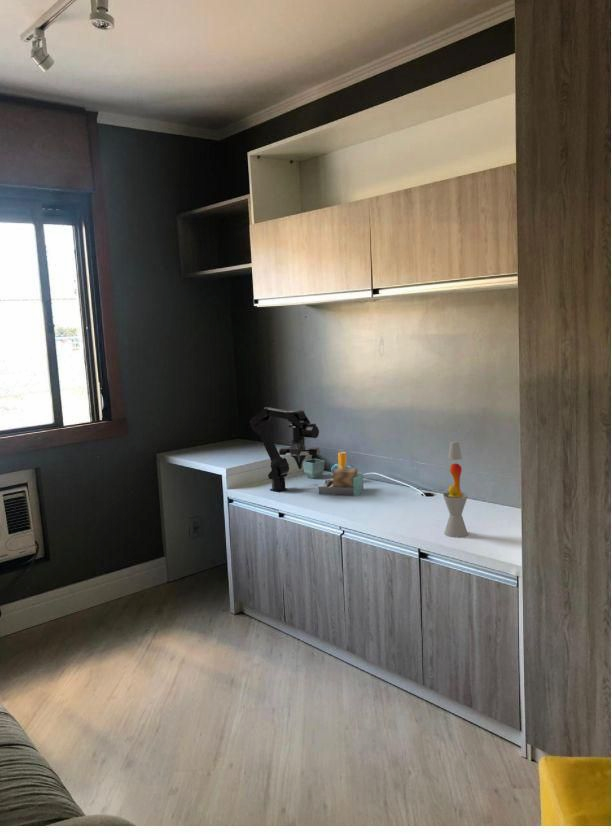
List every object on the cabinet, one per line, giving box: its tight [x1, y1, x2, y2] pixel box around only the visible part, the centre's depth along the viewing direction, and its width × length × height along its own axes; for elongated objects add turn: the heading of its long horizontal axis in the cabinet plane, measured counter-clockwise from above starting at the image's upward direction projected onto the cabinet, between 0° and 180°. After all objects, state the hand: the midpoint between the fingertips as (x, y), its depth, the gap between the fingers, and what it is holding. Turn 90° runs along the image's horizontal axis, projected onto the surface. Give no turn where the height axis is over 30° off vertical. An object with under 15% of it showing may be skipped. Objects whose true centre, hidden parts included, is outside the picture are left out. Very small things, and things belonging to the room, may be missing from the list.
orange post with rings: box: [330, 451, 355, 474], centre depth 342 cm, size 12×10×15 cm
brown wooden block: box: [332, 467, 358, 487], centre depth 321 cm, size 10×9×7 cm
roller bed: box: [318, 479, 354, 496], centre depth 322 cm, size 17×14×4 cm
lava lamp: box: [442, 441, 469, 538], centre depth 249 cm, size 9×9×35 cm
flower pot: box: [302, 458, 326, 479], centre depth 354 cm, size 9×9×9 cm
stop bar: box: [353, 471, 364, 497], centre depth 319 cm, size 2×14×8 cm, turn 164°
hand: (300, 468), depth 320 cm, fingers closed
